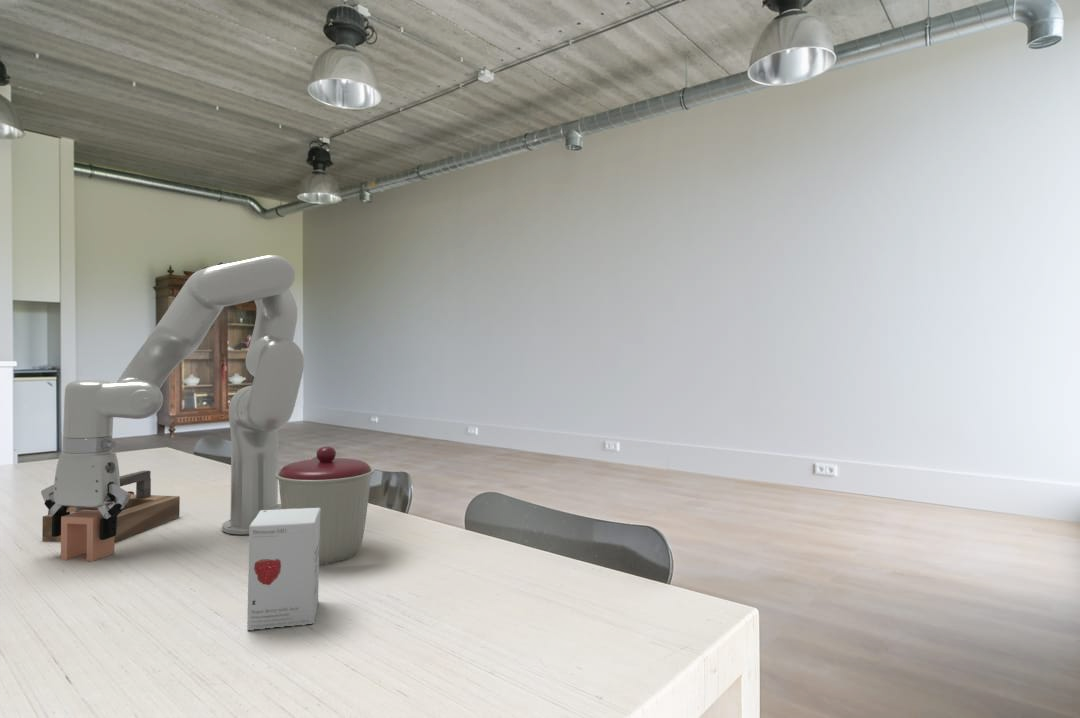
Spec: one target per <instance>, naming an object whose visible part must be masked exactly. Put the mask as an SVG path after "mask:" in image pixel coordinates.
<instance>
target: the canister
mask: <svg viewBox="0 0 1080 718" xmlns="http://www.w3.org/2000/svg"><path fill="white" fill-rule="evenodd" d="M336 456H337V451H336V449H335V448H334V447H332V446H322V447H320V448H318V449H317V451H316V458H312V459H303V460H299V461H294V462H292V463H289V464H287V465H285V466H283V467H282V468H281V469H278V471H277V472H276V473H275V477H276V478H277V479H278V488H279V489H278V490H279V498H280V504H281V508H282V509H303V508H320V509H321V510H320V541H319V565H325V564H332V563H337V562H341V561H344V560H347V559H349V558H350V559H351V557H353V556H354V555H356V553H358V551H359V550H360V548H361V547H362V543H363V539H364V536H365V535H364V534H365V527H366V520H367V512H368V505H369V495H370V490H371V489H370V488H371V479H372V475H373V474H374V473H375V471H376V469H375V467H373V466H372V465H369V463H367V462H365V461H363V460H360V459H354V458H347V457H346V458H345V457H342V458H341V457H336Z"/></svg>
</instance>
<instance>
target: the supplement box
mask: <svg viewBox="0 0 1080 718" xmlns="http://www.w3.org/2000/svg"><path fill="white" fill-rule="evenodd" d="M320 510H321V509H320V508H303V509H279V510H261V511H260V512H259V513H258V515H257V516H256V518H255V519H254V520H253V522H252V523H251V525H250V526H249V534H248V573H247V574H248V583H247V584H248V585H247V623H246V624H247V626H246V627H247V631H248V630H250V631H255V630H254V629H260V630H266V629H265V628H270V629H275V628H274V627H281V628H285V627H284V626H292V627H294V626H293V625H302V626H304V625H303V624H312V623H313V624H314V622H315V619H316V614H317V609H318V606H319V605H318V604H319V584H320V583H319V577H320V575H319V574H320V573H319V572H320V570H319V569H320V566H319V565H320V564H319V541H320ZM313 624H312V625H313Z"/></svg>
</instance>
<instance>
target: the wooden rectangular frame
mask: <svg viewBox="0 0 1080 718" xmlns="http://www.w3.org/2000/svg"><path fill="white" fill-rule="evenodd" d="M151 473H152V472H151V470H141V471H140V470H139V471H136V472H132V473H127V474H124V475H120V488H122V487H125V486H127V485H132V484H136V485H135V486H136V487H135V488H136V489H135V490H136V491H135V494H134V495H133V494H130V495H131V497H130V499H129V501H128V502H127V504H126V507H125V508H124V509H123V510H122V511H121V514H120V515H117V528H116V535H115V536H114V544H115V543H117V542H119V541H122V540H126V539H127V538H130V537H132V536H135V535H137V534H139V533H143V532H145V531H148V530H150V529H154V528H156V527H158V526H161V525H163V524H166V523H169V522H171V521H173V520H177V519H180V511H181V510H180V504H181V503H180V501H181V499H180V496H179V495H157V494H156V495H154V494H152V493H151V492H152V490H151V489H152V479H151V475H152V474H151ZM116 503H117V502H116ZM106 507H107V508H108V509H109V507H108V506H106ZM82 510H97V511H99V510H98V508H86V507H74V508H70V509H68V510H67V511H66V512H70V514H72V513H76V512H79V511H82ZM109 510H110V509H109ZM52 516H53V515H50V514H49V515H48V514H46V515H43V516H42V535H41V536H42V537H41V539H42V542H56V543H57V542H60V543H61V535H60V536H57V537H52Z"/></svg>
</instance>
